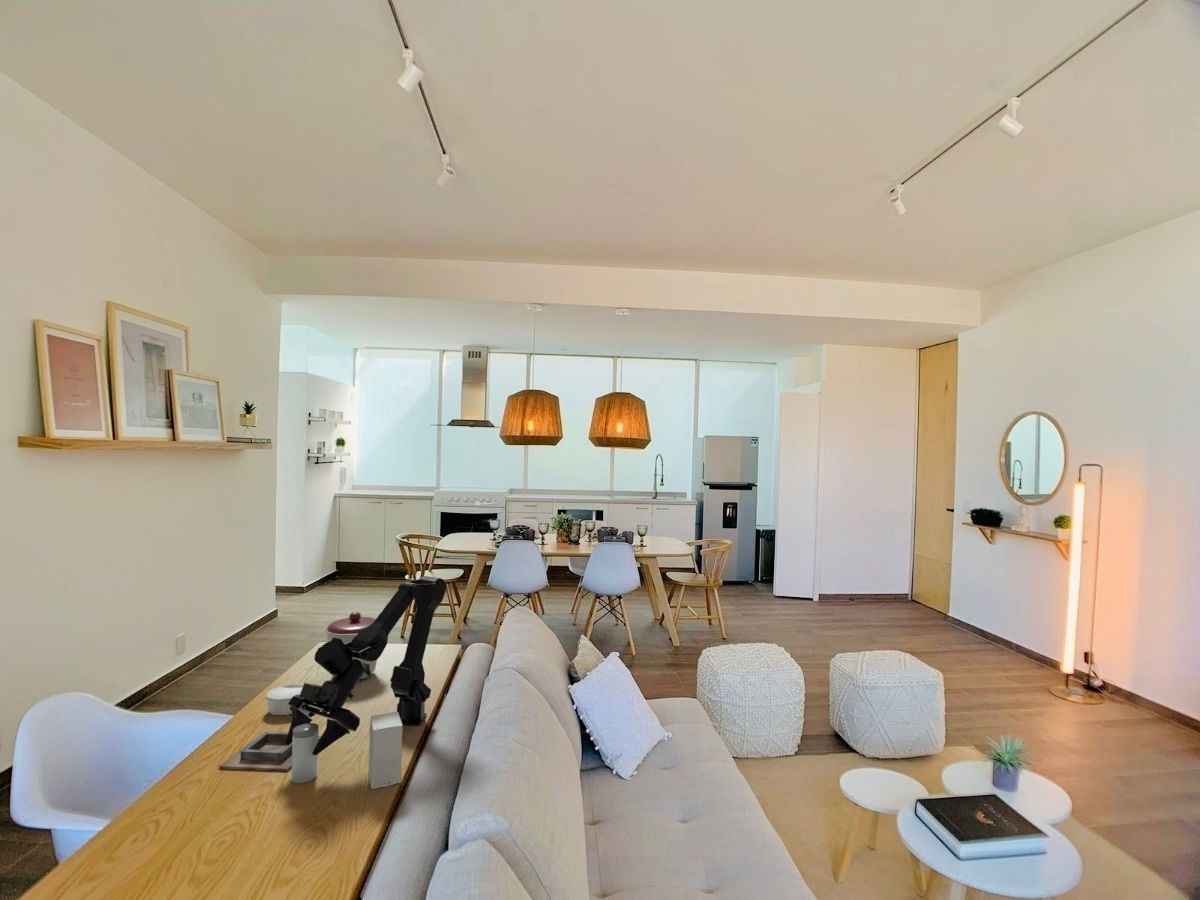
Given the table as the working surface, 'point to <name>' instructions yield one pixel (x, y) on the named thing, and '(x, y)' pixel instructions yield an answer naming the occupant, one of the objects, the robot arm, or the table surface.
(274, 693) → the ramekin
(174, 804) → the table surface
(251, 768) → the jig board
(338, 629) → the canister
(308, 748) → the grey cylinder
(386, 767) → the small box
